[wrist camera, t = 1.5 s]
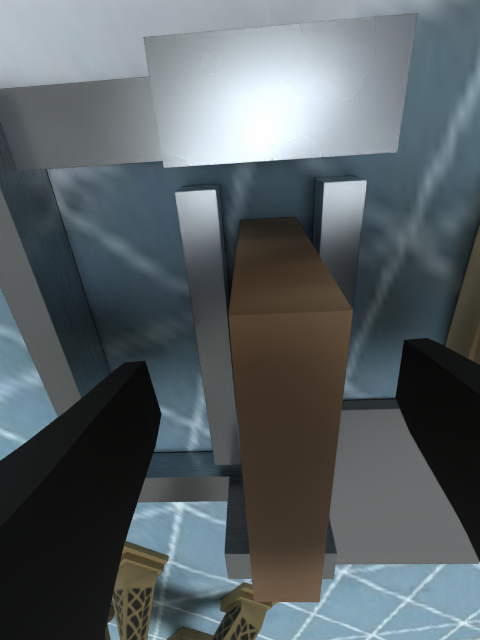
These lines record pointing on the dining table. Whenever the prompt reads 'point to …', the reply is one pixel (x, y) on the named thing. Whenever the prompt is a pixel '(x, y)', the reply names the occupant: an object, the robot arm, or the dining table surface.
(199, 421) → the dining table surface
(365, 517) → the mat
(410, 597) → the dining table surface
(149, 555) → the eiffel tower
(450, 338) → the offcut stack
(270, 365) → the walnut sheet
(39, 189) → the rack
